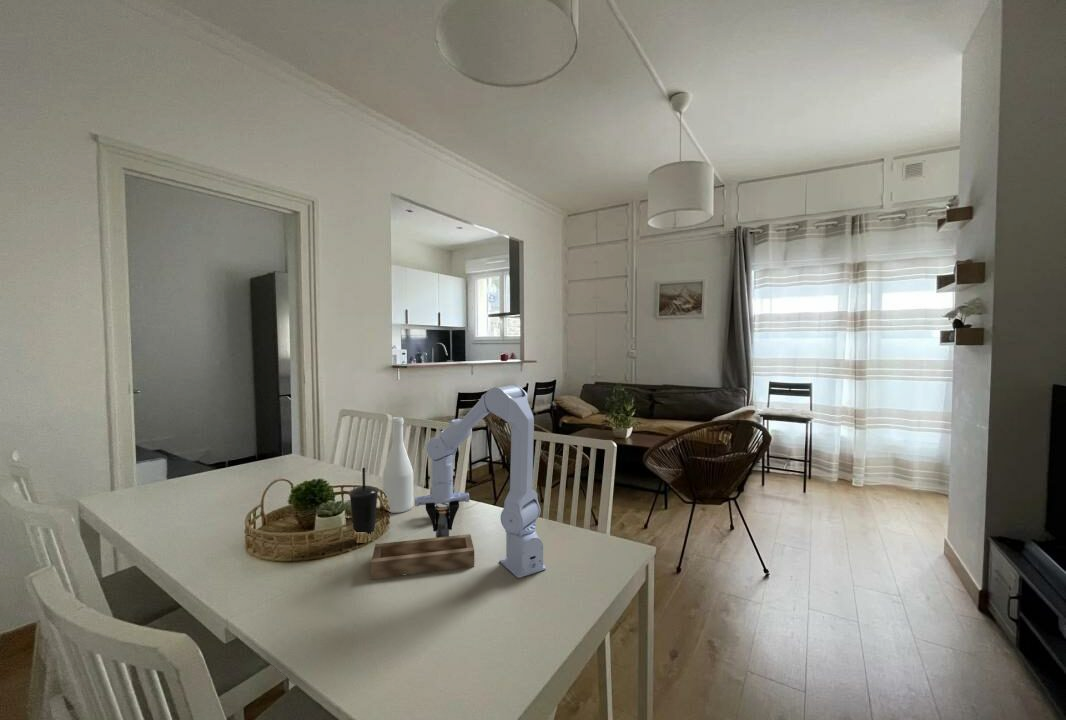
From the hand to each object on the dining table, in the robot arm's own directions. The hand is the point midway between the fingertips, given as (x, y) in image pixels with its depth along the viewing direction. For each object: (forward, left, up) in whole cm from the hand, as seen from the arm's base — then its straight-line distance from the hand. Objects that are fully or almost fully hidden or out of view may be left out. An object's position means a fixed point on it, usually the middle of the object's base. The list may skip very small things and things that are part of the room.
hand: (442, 529), depth 117 cm
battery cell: (0, 0, -2) cm, 2 cm away
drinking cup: (+12, +18, -4) cm, 22 cm away
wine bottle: (+30, +4, -4) cm, 30 cm away
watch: (+16, -6, -4) cm, 17 cm away
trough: (-9, +8, -3) cm, 12 cm away
